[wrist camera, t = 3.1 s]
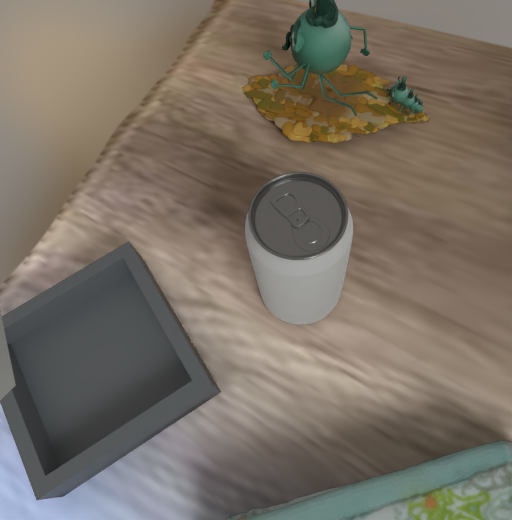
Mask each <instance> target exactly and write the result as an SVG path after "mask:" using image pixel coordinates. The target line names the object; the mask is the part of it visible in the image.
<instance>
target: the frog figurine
mask: <svg viewBox="0 0 512 520" xmlns="http://www.w3.org/2000/svg"><path fill="white" fill-rule="evenodd" d="M309 7H310V8H309V9H308V10H306V11H305V12H304V13H303V14H301V15H300V17H299V18H298V19H297V21H296V22H295V24H294V25H292V26H291V29H290V30H291V32H288V33H287V35H286V43H285V45H284V47H282V50H285V51H286V50H288V49H289V47H290V45H291V50H292V54H293V57H294V59H295V61H296V62H297V63H298V64H297V65H295V67H294V66H291V65H290V66H288V67H287V68H285V69H284V70H285V71H284V70H283V69H282V68H281V67H280V66H279V65H278V64H277V63H276V62H275V61H274V60H273V59H272V58H271V55H272V54H271V52H270V51H267V52H265V53H264V54H263V56H264V58H265V59H266V60H268V59H270V60H271V61H272V62H273V63H274V64H275V65H276V66H277V67H278V68H279V70H280V71H281V72H280V73H278V76H276V75H274V74H271V75H269V76H263V75H257V76H255V77H252V78H248V79H249V80H250V81H249V84H248V85H246V86H245V87H242V88H243V90H244V91H245V93H244V94H245V95H246V96H247V97H249V98H253V100H254V102H255V103H256V104H257V105H258V106H257V109H258V110H259V111H260V112H261V115H262V116H263V117H265V118H266V119H267V120H271V121H274V122H275V125H276V126H277V127H278V128H280V129H282V132H283V134H284V135H285V136H287V137H288V138H289V139H290V140H291V141H304V142H312V141H322V142H330V143H336V142H341V141H344V140H346V141H348V140H350V139H351V134H353V133H359V134H363V135H364V134H367V133H370V132H373V133H375V132H377V131H378V129H384V128H385V127H387V126H388V125H391V124H395V123H399V122H404V123H405V122H407V123H411V122H412V123H417V122H426V121H428V120H429V116H427V114H425V113H424V112H423V109H424V108H423V106H422V103H423V102H421V103H420V100H421V99H419V100H418V99H417V96H418V95H415V97H414V96H413V95H414V94H413V88H412V89H411V90H410V93H409V89H408V88H407V86H406V84H405V81H406V77H403V78H402V81H401V84H400V80H399V78H400V77H399V78H398V81H397V82H396V84H397V85H395V86H394V87H393V88H392V89H390V91H389V89H387V90H384V89H383V88H384V87H383V86H385V85H387V84H388V83H390V82H389V79H382V78H381V77H379V76H375V74H374V73H372V72H369V71H365V70H363V69H359V68H358V67H357V66H355V65H349V66H347V65H342V63H343V61H344V60H345V59H346V57H347V55H348V53H349V50H350V47H351V39H352V38H353V37H352V35H351V31H350V29H356V30H364V43H365V48H364V49H361V51H360V52H361V53H363V55H365V56H368V55H369V53H370V51H369V50H367V39H366V29H365V28H362V27H353V26H349V23H348V21H347V19H346V18H345V16H344V15H343V14H342V13H341V12H339V11H338V9H337V6H336V4H335V2H334V0H310V1H309ZM242 93H243V92H242ZM389 95H390V96H389ZM391 100H392V101H393V102H390V101H391ZM388 103H389V104H388ZM353 135H354V134H353ZM355 136H356V135H355ZM358 137H359V136H358Z"/></svg>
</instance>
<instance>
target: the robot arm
mask: <svg viewBox="0 0 512 520" xmlns="http://www.w3.org/2000/svg"><path fill="white" fill-rule="evenodd" d="M15 386H16V384H15V379H14V375H13V370H12V365H11V360H10V355H9V350H8V346H7V341H6V336H5V331H4V326H3V321H2V316H1V312H0V400H1V399H2V398H3V397H4V396H5V395H6V394H7V393H8V392H9V391H10V390H12V389H13V388H14V387H15Z"/></svg>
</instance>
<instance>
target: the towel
mask: <svg viewBox="0 0 512 520" xmlns="http://www.w3.org/2000/svg"><path fill="white" fill-rule="evenodd" d="M225 520H512V442H511V441H509V440H502V441H496V442H493V443H489V444H484V445H480V446H477V447H473V448H469V449H466V450H462V451H459V452H456V453H453V454H449V455H446V456H443V457H440V458H437V459H434V460H432V461H428V462H425V463H421V464H418V465H415V466H412V467H409V468H406V469H402V470H399V471H396V472H392V473H388V474H384V475H380V476H377V477H374V478H370V479H367V480H364V481H360V482H357V483H353V484H350V485H346V486H342V487H338V488H332V489H326V490H323V491H320V492H317V493H313V494H310V495H308V496H303V497H299V498H296V499H294V500H292V501H290V502H287V503H283V504H279V505H274V506H271V507H267V508H262V509H251V510H250V511H248V512H247V513H241V514H238V515H235V516H233V517H230V518H228V519H225Z"/></svg>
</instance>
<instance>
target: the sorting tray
mask: <svg viewBox="0 0 512 520" xmlns="http://www.w3.org/2000/svg"><path fill="white" fill-rule="evenodd" d="M2 321H3V326H4V331H5V336H6V341H7V346H8V350H9V355H10V360H11V365H12V370H13V375H14V379H15V384H16V386H15V387H14V388H13V389H12V390H10V391H9V392H8V393H7V394H6V395H5V396H4V397H3V398H2V399H1V400H0V403H1V405H2V408H3V411H4V413H5V416H6V419H7V421H8V424H9V427H10V430H11V432H12V435H13V438H14V440H15V443H16V446H17V448H18V451H19V454H20V456H21V459H22V462H23V465H24V467H25V470H26V473H27V475H28V478H29V481H30V483H31V486H32V489H33V491H34V494H35V497H36V499H37V500H42V499H49V498H56V497H63V496H65V495H66V494H68V493H69V492H71V491H72V490H74V489H75V488H77V487H78V486H80V485H81V484H83V483H84V482H86V481H87V480H89V479H90V478H92V477H93V476H95V475H96V474H98V473H99V472H101V471H102V470H104V469H105V468H107V467H108V466H110V465H111V464H113V463H114V462H116V461H117V460H119V459H121V458H122V457H124V456H125V455H127V454H128V453H130V452H131V451H133V450H134V449H136V448H137V447H139V446H140V445H142V444H143V443H145V442H146V441H148V440H149V439H151V438H152V437H154V436H155V435H157V434H158V433H160V432H161V431H163V430H164V429H166V428H167V427H169V426H170V425H172V424H173V423H175V422H176V421H178V420H179V419H181V418H182V417H184V416H185V415H187V414H189V413H190V412H192V411H193V410H195V409H196V408H198V407H199V406H201V405H202V404H204V403H205V402H207V401H208V400H210V399H211V398H213V397H214V396H216V395H217V394H219V393H220V392H221V391H220V390H219V388H218V386H217V385H216V383H215V381H214V379H213V378H212V376H211V374H210V373H209V371H208V369H207V367H206V366H205V364H204V362H203V361H202V359H201V357H200V356H199V354H198V352H197V350H196V349H195V347H194V345H193V344H192V342H191V340H190V338H189V337H188V335H187V333H186V332H185V330H184V328H183V326H182V325H181V323H180V321H179V320H178V318H177V316H176V314H175V313H174V311H173V309H172V308H171V306H170V304H169V302H168V301H167V299H166V297H165V296H164V294H163V292H162V291H161V289H160V287H159V285H158V284H157V282H156V280H155V279H154V277H153V275H152V273H151V272H150V270H149V268H148V267H147V265H146V263H145V261H144V260H143V258H142V257H141V256H140V255H139V253H138V252H137V251H136V250H135V248H134V247H133V246H132V245H131V243H130V242H127V243H126V244H124V245H122V246H120V247H119V248H117V249H115V250H114V251H112V252H110V253H109V254H107V255H105V256H104V257H102V258H100V259H99V260H97V261H95V262H93V263H92V264H90V265H88V266H87V267H85V268H83V269H82V270H80V271H78V272H77V273H75V274H73V275H71V276H70V277H68V278H66V279H65V280H63V281H61V282H60V283H58V284H56V285H55V286H53V287H51V288H50V289H48V290H46V291H44V292H43V293H41V294H39V295H38V296H36V297H34V298H33V299H31V300H29V301H28V302H26V303H24V304H22V305H21V306H19V307H17V308H16V309H14V310H12V311H11V312H9V313H7V314H6V315H4V316H2Z"/></svg>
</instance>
